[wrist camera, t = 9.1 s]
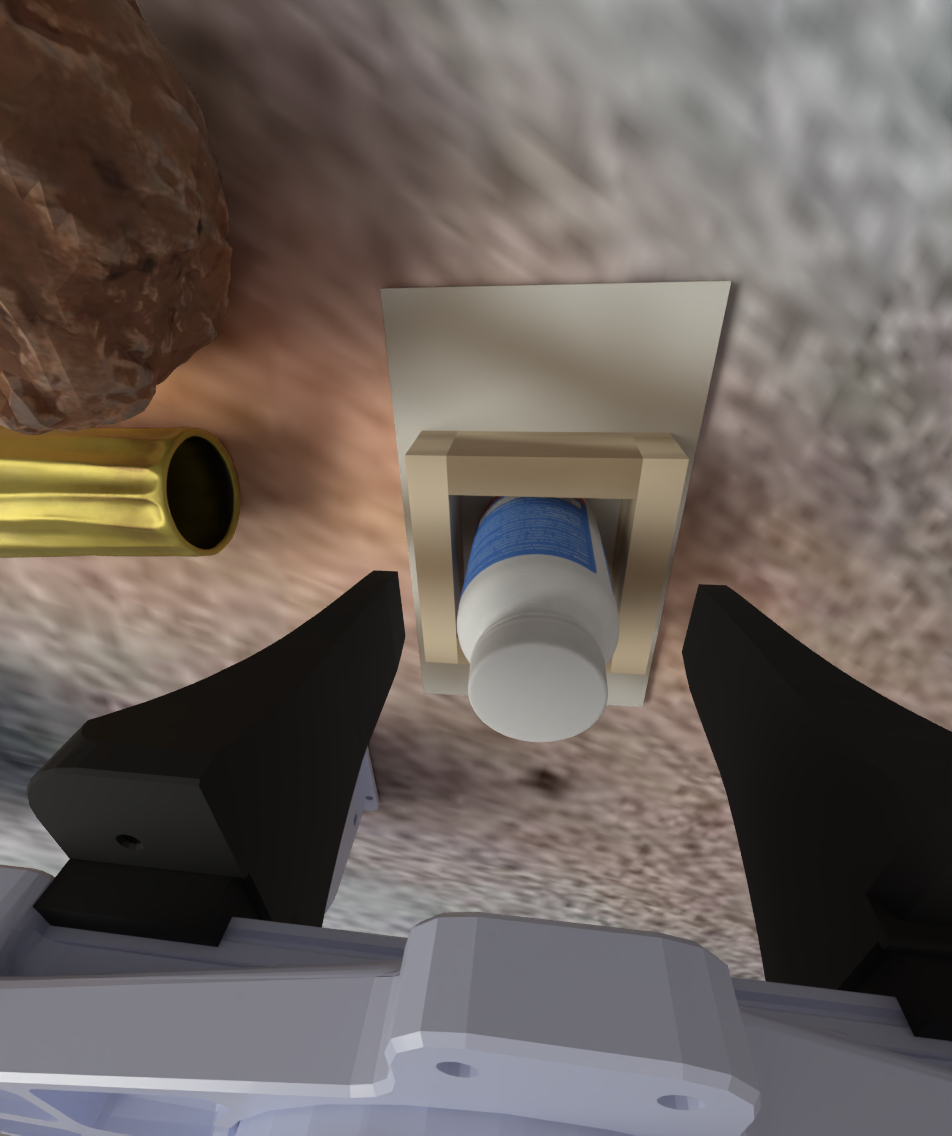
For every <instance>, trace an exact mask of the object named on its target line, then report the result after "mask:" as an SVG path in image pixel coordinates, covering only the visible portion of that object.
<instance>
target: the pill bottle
mask: <svg viewBox="0 0 952 1136" xmlns="http://www.w3.org/2000/svg"><path fill="white" fill-rule="evenodd" d="M457 633H458V638H459V642H460V646H461V649H462V651H463V653H464V655H465V657H466V658H467V660H468V661H469V663H470V673H469V681H468V695H469V700H470V703H471V705H472V707H473V709H474V711H475V712H476V714H477V715H478V716H479V718H480V719H481V720H482V721H483V722H484V723H485V724H487V725H488V726H489V727H491V728H492V729H493V730H495V731H497V732H499V733H501V734H503V735H505V736H508V737H511V738H514V739H518V740H523V741H529V742H553V741H559V740H563V739H567V738H570V737H573V736H576V735H578V734H579V733H581V732H583V731H585V730H587V729H588V728H589V727H591V726H592V725H593V724H594V723H595V722H596V721H597V720H598V719H599V718H600V716H601V715H602V713H603V711H604V709H605V706H606V703H607V699H608V686H607V676H606V665H607V664H608V663H609V661H610V660H611V658H612V656H613V654H614V652H615V650H616V647H617V643H618V639H619V615H618V610H617V605H616V600H615V595H614V591H613V587H612V583H611V578H610V573H609V569H608V564H607V560H606V555H605V550H604V546H603V541H602V536H601V532H600V527H599V523H598V520H597V518H596V515H595V513H594V511H593V509H592V508H591V506H590V505H589V503H588V502H587V501H586V500H585V498H559V497H515V496H493V497H492V498H491V499H490V501H489V502H488V503H487V505H486V506H485V507H484V509H483V511H482V513H481V515H480V517H479V520H478V523H477V526H476V531H475V535H474V540H473V545H472V550H471V554H470V559H469V563H468V568H467V572H466V576H465V582H464V585H463V589H462V593H461V598H460V602H459V609H458V615H457Z"/></svg>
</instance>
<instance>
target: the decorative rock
mask: <svg viewBox="0 0 952 1136" xmlns="http://www.w3.org/2000/svg"><path fill="white" fill-rule="evenodd" d="M229 222H230V220H229V211H228V207H227V203H226V200H225V196H224V192H223V185H222V177H221V172H220V169H219V167H218V164H217V162H216V159H215V156H214V154H213V151H212V149H211V146H210V142H209V137H208V132H207V128H206V123H205V118H204V114H203V112H202V110H201V109H200V107H199V105H198V103H197V101H196V99H195V97H194V96H193V94H192V92H191V90H190V89H189V87H188V86H187V84H186V83H185V81H184V79H183V78H182V76H181V75H180V73H179V72H178V70H177V69H176V67H175V65H174V63H173V62H172V60H171V58H170V57H169V55H168V53H167V52H166V50H165V49H164V47H163V46H162V44H161V43H160V41H159V40H158V38H157V36H156V35H155V34H154V33H153V32H152V30H151V29H150V28H149V27H148V26H147V24H146V23H145V22H144V20H143V18H142V16H141V13H140V11H139V9H138V6H137V4H136V2H135V0H0V426H3V427H6V428H8V429H10V430H13V431H16V432H19V433H22V434H25V435H40V434H44V433H47V432H50V431H53V430H57V431H68V432H73V431H78V430H83V429H88V428H91V427H93V426H96V425H99V424H114V423H117V422H120V421H123V420H126V419H129V418H132V417H134V416H136V415H137V414H139V413H141V412H143V411H144V410H145V408H146V407H147V406H148V405H149V403H150V401H151V399H152V397H153V396H154V394H155V392H156V385H158V384H160V383H162V382H163V381H164V380H165V379H166V378H167V377H168V376H169V375H170V374H171V373H172V372H173V371H174V369H175V368H176V367H178V366H180V365H181V364H183V363H185V362H187V361H188V360H189V359H190V358H191V357H192V355H193V354H194V353H195V352H196V351H197V350H199V349H200V348H201V347H203V346H205V345H207V344H209V343H211V342H213V341H214V340H215V337H216V335H217V334H218V331H219V326H220V322H221V320H222V319H223V317H224V315H225V313H226V311H227V309H228V307H229V298H228V287H229V283H230V279H231V267H230V262H231V257H232V252H233V249H232V247H231V245H230V244H229V242H228V240H227V238H226V236H227V234H228V230H229Z"/></svg>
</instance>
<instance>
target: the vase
mask: <svg viewBox="0 0 952 1136" xmlns="http://www.w3.org/2000/svg"><path fill="white" fill-rule="evenodd" d="M239 514H240V490H239V484H238V479H237V475H236V472H235V468H234V466H233V463H232V460H231V458H230V456H229V454H228V452H227V451H226V449H225V448H224V446H223V445H222V444H221V442H220V441H219V440H218V439H217V438H216V437H215V436H213V435H212V434H211V433H209V432H207V431H205V430H202V429H197V428H88V429H83V430H78V431H73V432H68V431H57V430H53V431H50V432H47V433H44V434H40V435H25V434H22V433H19V432H16V431H13V430H10V429H8V428H6V427H3V426H0V558H13V557H62V556H88V555H98V556H193V557H196V556H210V555H215V554H217V553H219V552H220V551H221V550H222V549H223V548H224V547H225V546H226V545H227V544H228V543H229V542H230V540H231V539H232V537H233V535H234V533H235V530H236V527H237V524H238V520H239Z"/></svg>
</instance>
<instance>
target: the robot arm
mask: <svg viewBox="0 0 952 1136" xmlns="http://www.w3.org/2000/svg"><path fill="white" fill-rule="evenodd" d="M404 640H405V629H404V620H403V612H402V604H401V596H400V588H399V579H398V572H396V571H373V572H371V573H370V574H368V575H367V576H366V577H364V578H363V579H362V580H361V581H359V582H358V583H357V584H356V585H354V586H353V587H352V588H351V589H349V590H348V591H347V592H346V593H344V594H343V595H342V596H340V597H339V598H338V599H337V600H335V601H334V602H333V603H331V604H330V605H329V606H327V607H326V608H325V609H324V610H322V611H321V612H320V613H318V614H317V615H315V616H314V617H312V618H311V619H310V620H308V621H307V622H305V623H304V624H302V625H301V626H299V627H298V628H297V629H295V630H294V631H292V632H291V633H289V634H288V635H286V636H285V637H283V638H282V639H280V640H278V641H277V642H275V643H273V644H272V645H270V646H268V647H266V648H265V649H263V650H261V651H259V652H258V653H256V654H254V655H252V656H250V657H249V658H247V659H245V660H243V661H241V662H239V663H237V664H234V665H232V666H230V667H228V668H226V669H224V670H222V671H220V672H218V673H216V674H214V675H212V676H210V677H208V678H205V679H203V680H201V681H198V682H196V683H194V684H191V685H189V686H186V687H184V688H182V689H179V690H176V691H174V692H171V693H169V694H166V695H163V696H161V697H158V698H155V699H153V700H150V701H147V702H144V703H141V704H138V705H135V706H132V707H129V708H126V709H122V710H119V711H116V712H113V713H110V714H107V715H104V716H101V717H97V718H94V719H91V720H88V721H87V722H86V723H85V724H84V725H83V726H82V727H81V728H80V729H79V730H78V731H77V732H76V733H75V734H74V735H73V736H72V737H71V738H70V739H69V740H68V741H67V742H66V743H65V744H64V745H63V746H62V747H61V748H60V749H59V750H58V751H57V752H56V753H55V754H54V756H53V757H52V758H51V759H50V760H49V761H48V762H47V763H46V764H45V765H44V766H43V767H42V768H41V769H40V770H39V771H38V772H37V773H36V774H35V775H34V776H33V777H32V778H31V779H30V782H29V785H28V787H27V795H28V800H29V805H30V807H31V809H32V810H33V812H34V814H35V815H36V817H37V818H38V820H39V821H40V822H41V823H42V825H43V826H44V827H45V828H46V830H47V831H48V832H49V833H50V835H51V836H52V837H53V838H54V840H55V841H56V842H57V843H58V845H59V846H60V847H61V848H62V850H63V851H64V852H65V853H66V855H67V856H68V857H69V858H70V859H69V861H68V862H67V863H66V864H65V866H64V867H63V868H62V870H61V871H60V872H59V873H58V875H57V876H56V877H53V876H52V875H50V874H48V873H46V872H44V871H41V870H37V869H33V868H24V867H16V866H7V865H0V1133H3V1134H7V1135H11V1136H952V732H951V731H949V730H947V729H945V728H943V727H941V726H939V725H937V724H935V723H933V722H931V721H929V720H927V719H925V718H923V717H921V716H919V715H917V714H915V713H913V712H911V711H909V710H908V709H906V708H904V707H902V706H900V705H898V704H897V703H895V702H893V701H891V700H889V699H888V698H886V697H884V696H882V695H881V694H879V693H877V692H876V691H874V690H872V689H871V688H869V687H867V686H866V685H864V684H862V683H860V682H859V681H857V680H855V679H854V678H852V677H851V676H849V675H847V674H846V673H844V672H843V671H841V670H840V669H838V668H837V667H835V666H834V665H832V664H831V663H829V662H828V661H826V660H825V659H824V658H822V657H821V656H819V655H818V654H816V653H815V652H813V651H812V650H811V649H809V648H808V647H806V646H805V645H804V644H802V643H801V642H800V641H798V640H797V639H795V638H794V637H793V636H791V635H790V634H789V633H788V632H786V631H785V630H784V629H782V628H781V627H780V626H778V625H777V624H776V623H775V622H773V621H772V620H771V619H769V618H768V617H767V616H766V615H764V614H763V613H762V612H761V611H759V610H758V609H757V608H756V607H754V606H753V605H752V604H750V603H749V602H748V601H747V600H745V599H744V598H743V597H742V596H740V595H739V594H738V593H736V592H735V591H734V590H732V589H731V588H729V587H728V586H726V585H703V584H699V586H698V590H697V594H696V598H695V602H694V606H693V610H692V614H691V618H690V622H689V626H688V630H687V634H686V637H685V641H684V645H683V649H682V655H683V660H684V665H685V670H686V675H687V679H688V684H689V688H690V692H691V694H692V697H693V700H694V703H695V706H696V709H697V711H698V714H699V717H700V720H701V722H702V725H703V728H704V731H705V733H706V736H707V739H708V741H709V744H710V747H711V750H712V752H713V755H714V758H715V760H716V763H717V766H718V769H719V771H720V774H721V777H722V781H723V784H724V787H725V790H726V793H727V797H728V801H729V805H730V809H731V813H732V817H733V821H734V825H735V830H736V834H737V838H738V842H739V847H740V851H741V856H742V860H743V865H744V869H745V874H746V878H747V883H748V888H749V893H750V898H751V903H752V908H753V913H754V918H755V923H756V928H757V933H758V939H759V945H760V950H761V956H762V962H763V968H764V974H765V980H766V981H758V980H750V979H742V978H734V977H730V973H729V969H728V965H726V964H725V963H724V962H723V961H721V960H720V959H719V958H718V957H716V956H715V955H713V954H712V953H711V952H709V951H708V950H706V949H705V948H703V947H702V946H701V945H699V944H698V943H696V942H695V941H691V940H687V939H683V938H679V937H675V936H671V935H667V934H663V933H659V932H651V931H642V930H633V929H624V928H615V927H607V926H598V925H589V924H580V923H571V922H563V921H554V920H545V919H536V918H528V917H519V916H510V915H501V914H492V913H484V912H450V913H442V914H439V915H437V916H434V917H432V918H429V919H427V920H424V921H422V922H420V923H419V924H417V925H416V926H414V927H413V928H412V930H411V932H410V935H409V937H408V938H404V937H395V936H387V935H379V934H371V933H362V932H354V931H346V930H338V929H329V928H322V923H323V919H324V914H325V913H326V912H327V910H328V909H329V907H330V906H331V904H332V902H333V901H334V899H335V896H336V894H337V891H338V888H339V885H340V882H341V879H342V876H343V873H344V870H345V866H346V863H347V860H348V857H349V854H350V851H351V848H352V845H353V842H354V839H355V835H356V832H357V829H358V826H359V823H360V820H361V817H362V814H363V811H364V810H365V811H376V810H377V809H378V807H379V798H378V793H377V789H376V784H375V779H374V774H373V769H372V764H371V759H370V754H369V749H368V744H369V741H370V738H371V736H372V733H373V731H374V728H375V726H376V723H377V721H378V718H379V716H380V713H381V711H382V708H383V706H384V703H385V701H386V698H387V696H388V693H389V690H390V688H391V685H392V683H393V680H394V677H395V675H396V672H397V669H398V665H399V661H400V657H401V653H402V649H403V644H404Z"/></svg>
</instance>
